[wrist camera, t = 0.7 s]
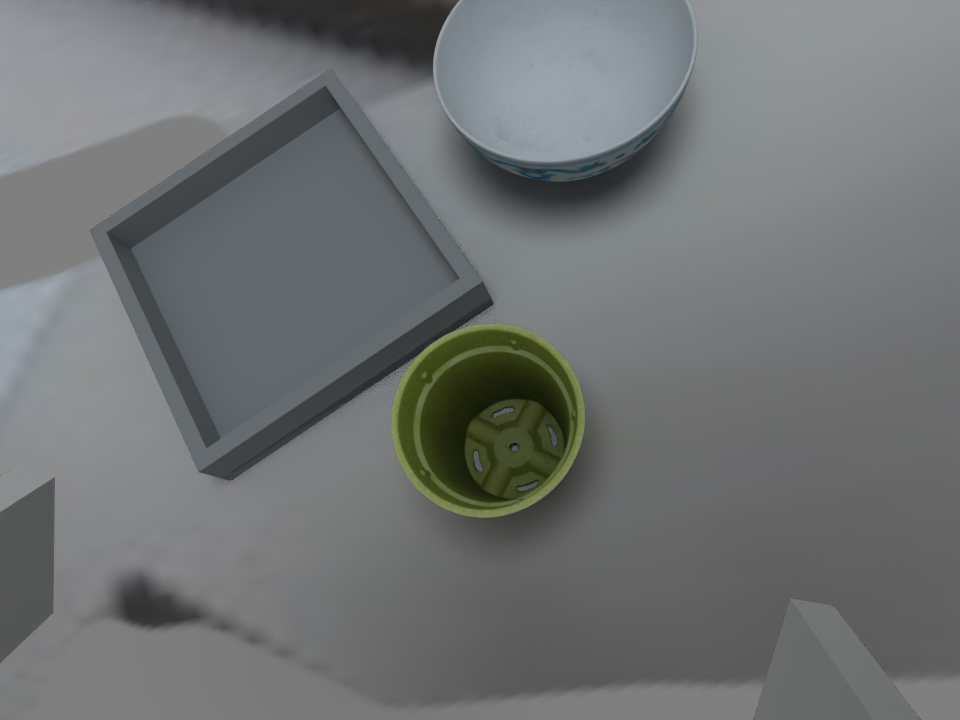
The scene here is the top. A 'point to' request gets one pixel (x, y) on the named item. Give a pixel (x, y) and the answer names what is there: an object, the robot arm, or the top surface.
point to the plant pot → (487, 420)
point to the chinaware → (563, 79)
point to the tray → (283, 276)
